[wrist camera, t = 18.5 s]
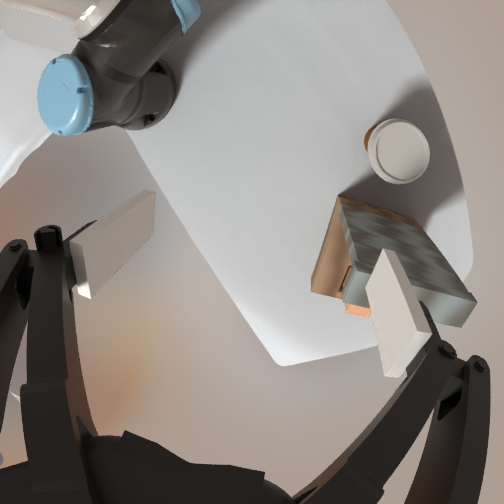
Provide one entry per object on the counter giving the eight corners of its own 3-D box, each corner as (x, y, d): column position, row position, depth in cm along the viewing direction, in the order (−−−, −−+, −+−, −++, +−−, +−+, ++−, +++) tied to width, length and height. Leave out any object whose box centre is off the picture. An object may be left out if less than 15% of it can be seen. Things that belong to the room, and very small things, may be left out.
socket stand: (308, 276, 58) (303, 379, 36) (335, 194, 49) (356, 270, 27) (382, 295, 57) (408, 394, 35) (416, 219, 48) (477, 302, 26)
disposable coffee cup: (367, 176, 47) (383, 196, 36) (346, 126, 43) (358, 131, 33) (413, 159, 43) (440, 174, 33) (394, 109, 40) (419, 110, 30)
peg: (340, 274, 57) (346, 312, 46) (348, 256, 55) (355, 292, 44) (360, 279, 56) (369, 317, 46) (368, 261, 54) (379, 298, 44)
